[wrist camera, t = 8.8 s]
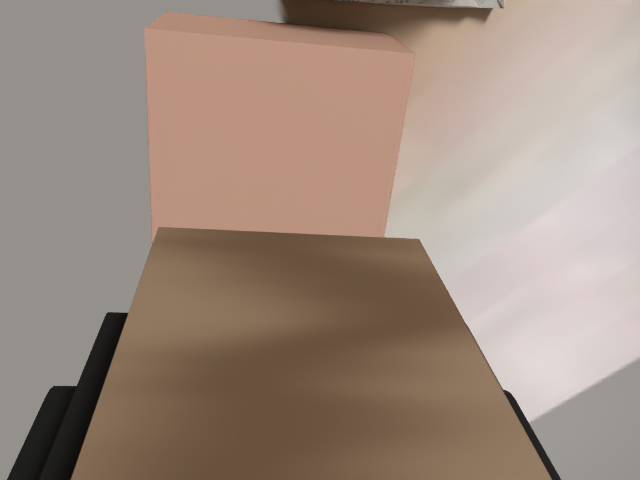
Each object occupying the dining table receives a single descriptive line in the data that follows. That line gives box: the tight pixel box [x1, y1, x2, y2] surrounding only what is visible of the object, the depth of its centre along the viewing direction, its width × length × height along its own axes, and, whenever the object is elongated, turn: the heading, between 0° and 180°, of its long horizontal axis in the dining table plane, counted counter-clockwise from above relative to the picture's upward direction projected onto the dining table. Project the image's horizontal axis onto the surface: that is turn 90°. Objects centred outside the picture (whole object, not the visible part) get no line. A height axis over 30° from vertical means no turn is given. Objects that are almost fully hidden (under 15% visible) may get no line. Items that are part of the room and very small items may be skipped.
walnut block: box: [71, 227, 552, 480], centre depth 9 cm, size 5×5×6 cm
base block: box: [144, 12, 416, 244], centre depth 23 cm, size 9×9×5 cm
